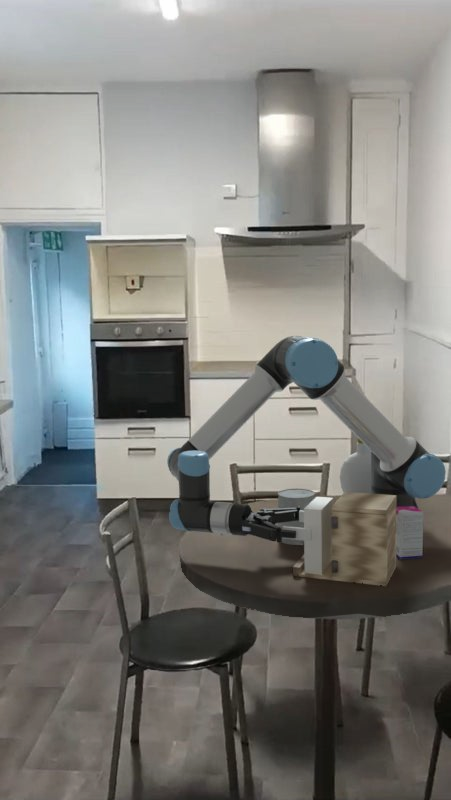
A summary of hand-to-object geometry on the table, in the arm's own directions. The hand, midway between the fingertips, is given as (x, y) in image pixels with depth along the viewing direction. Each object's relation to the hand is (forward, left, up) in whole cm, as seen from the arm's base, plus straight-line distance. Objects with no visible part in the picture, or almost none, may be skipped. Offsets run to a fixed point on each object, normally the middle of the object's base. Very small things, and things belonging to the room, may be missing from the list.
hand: (319, 526), depth 186 cm
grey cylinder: (0, -23, -10) cm, 25 cm away
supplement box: (-23, -5, -10) cm, 26 cm away
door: (0, 0, -10) cm, 10 cm away
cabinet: (-5, +3, -10) cm, 12 cm away
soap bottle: (-28, -53, -10) cm, 61 cm away
